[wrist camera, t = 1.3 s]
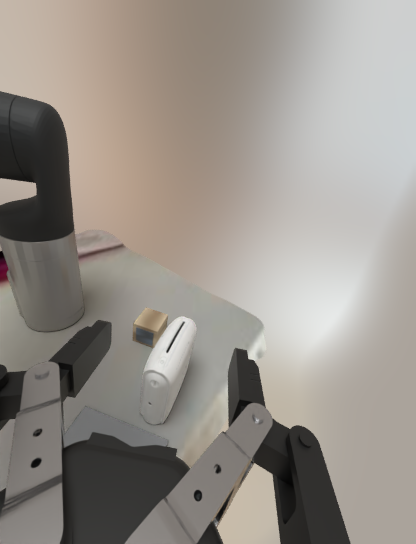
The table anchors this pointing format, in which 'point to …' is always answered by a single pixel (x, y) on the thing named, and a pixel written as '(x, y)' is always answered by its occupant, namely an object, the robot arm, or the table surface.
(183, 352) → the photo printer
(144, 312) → the wooden block
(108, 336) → the robot arm
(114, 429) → the felt pad
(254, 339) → the table surface
